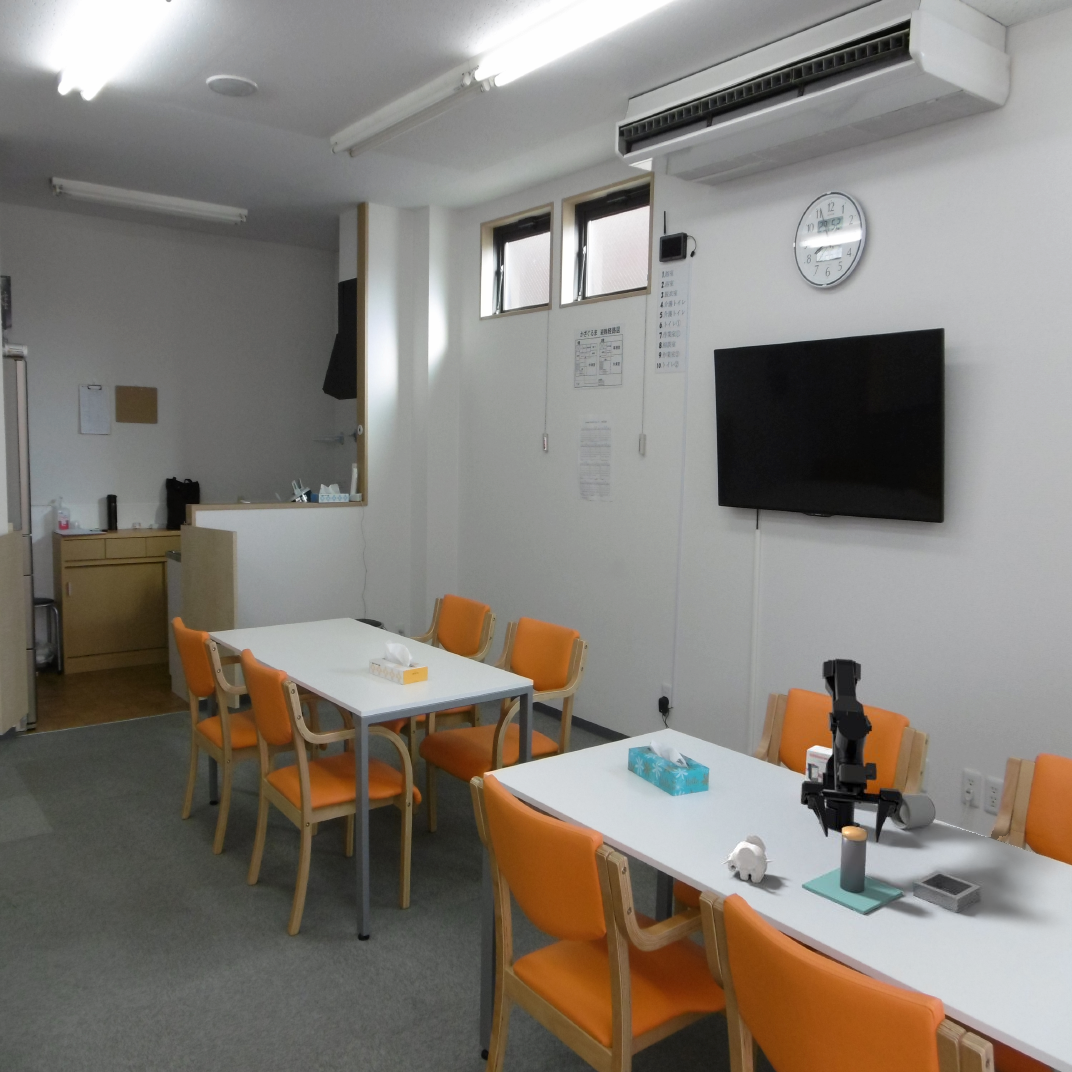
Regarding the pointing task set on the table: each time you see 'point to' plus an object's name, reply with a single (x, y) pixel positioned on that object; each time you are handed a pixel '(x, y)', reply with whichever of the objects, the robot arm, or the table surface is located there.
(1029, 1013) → the table surface
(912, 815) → the ceramic mug
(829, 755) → the ink box
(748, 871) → the elephant figurine
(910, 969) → the table surface
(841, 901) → the teal mat
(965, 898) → the collar
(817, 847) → the table surface
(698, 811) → the table surface
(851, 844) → the grey orange domed cylinder
